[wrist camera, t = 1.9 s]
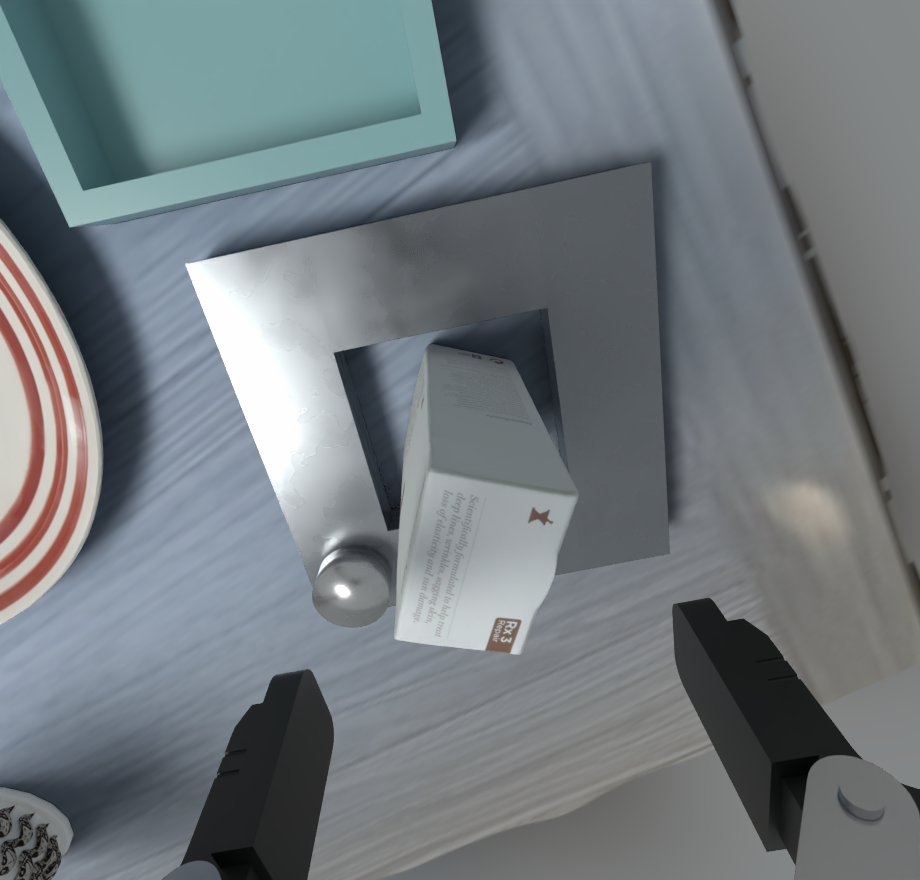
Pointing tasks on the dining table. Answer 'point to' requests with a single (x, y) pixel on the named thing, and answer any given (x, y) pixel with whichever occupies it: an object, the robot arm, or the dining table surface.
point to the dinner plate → (41, 436)
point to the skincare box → (477, 506)
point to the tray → (217, 95)
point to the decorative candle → (31, 836)
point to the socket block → (436, 308)
